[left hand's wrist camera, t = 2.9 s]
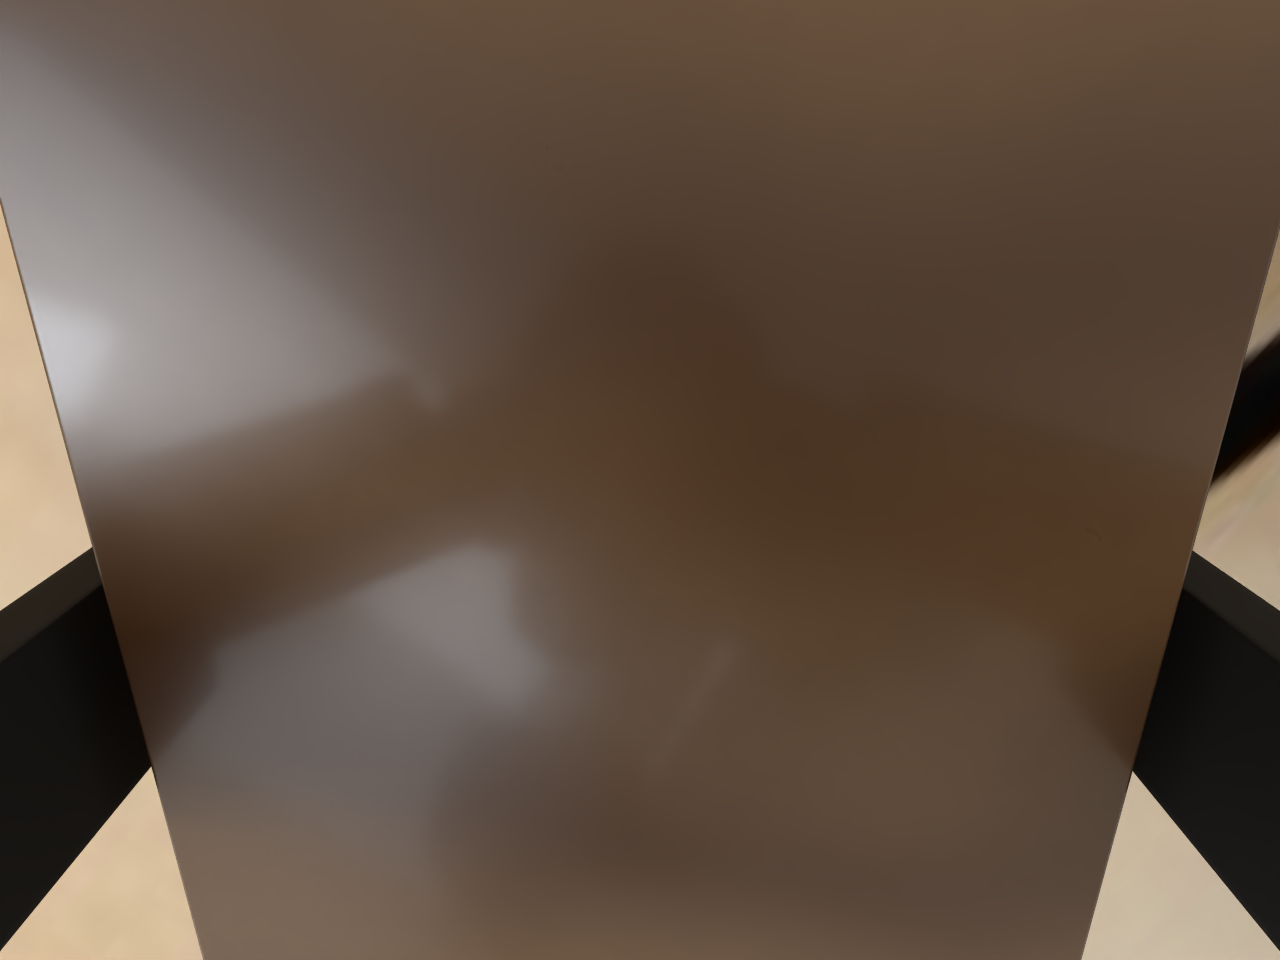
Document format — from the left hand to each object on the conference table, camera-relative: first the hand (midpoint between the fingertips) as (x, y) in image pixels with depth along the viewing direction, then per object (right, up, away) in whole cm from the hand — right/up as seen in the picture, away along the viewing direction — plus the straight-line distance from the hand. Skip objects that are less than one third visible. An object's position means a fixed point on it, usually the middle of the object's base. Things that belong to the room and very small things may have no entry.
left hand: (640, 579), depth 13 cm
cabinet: (0, +8, +6) cm, 10 cm away
